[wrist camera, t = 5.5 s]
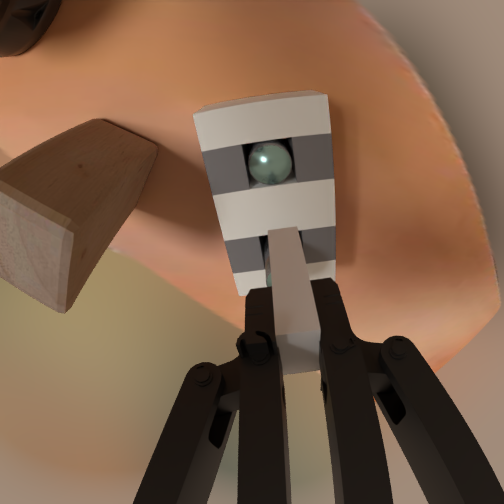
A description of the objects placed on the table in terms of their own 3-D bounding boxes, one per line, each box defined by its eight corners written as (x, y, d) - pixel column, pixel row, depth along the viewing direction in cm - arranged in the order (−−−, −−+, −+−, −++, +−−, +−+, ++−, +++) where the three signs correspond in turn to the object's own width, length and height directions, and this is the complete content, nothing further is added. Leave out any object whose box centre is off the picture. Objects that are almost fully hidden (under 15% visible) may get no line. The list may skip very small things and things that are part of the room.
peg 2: (261, 228, 32) (263, 268, 26) (296, 223, 32) (306, 262, 26) (266, 256, 34) (268, 298, 29) (299, 252, 34) (308, 293, 28)
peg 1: (246, 132, 30) (244, 148, 24) (281, 127, 30) (289, 141, 24) (252, 164, 32) (252, 187, 27) (286, 159, 32) (294, 182, 26)
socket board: (204, 105, 29) (192, 114, 23) (312, 89, 27) (327, 94, 22) (241, 261, 41) (239, 296, 36) (324, 250, 40) (335, 283, 34)
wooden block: (163, 144, 31) (76, 234, 15) (135, 209, 36) (66, 321, 20) (96, 114, 28) (-23, 176, 12) (76, 180, 33) (-16, 271, 17)
